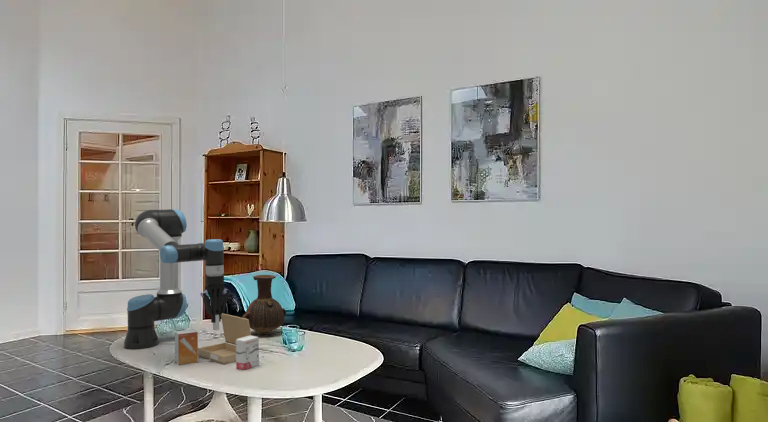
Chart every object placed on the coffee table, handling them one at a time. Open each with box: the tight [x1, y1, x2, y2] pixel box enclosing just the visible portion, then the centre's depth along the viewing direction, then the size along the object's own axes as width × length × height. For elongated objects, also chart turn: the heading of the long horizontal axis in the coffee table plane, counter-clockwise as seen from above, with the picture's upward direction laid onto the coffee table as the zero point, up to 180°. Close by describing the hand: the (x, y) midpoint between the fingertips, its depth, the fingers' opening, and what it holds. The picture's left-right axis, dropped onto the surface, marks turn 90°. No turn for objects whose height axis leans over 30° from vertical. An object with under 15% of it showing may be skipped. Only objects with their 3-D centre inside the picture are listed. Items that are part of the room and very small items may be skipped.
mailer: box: [198, 342, 236, 365], centre depth 240 cm, size 21×14×3 cm, turn 47°
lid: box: [221, 312, 252, 346], centre depth 244 cm, size 22×14×1 cm
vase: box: [241, 274, 287, 335], centre depth 283 cm, size 25×20×30 cm
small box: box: [174, 328, 199, 366], centre depth 232 cm, size 8×6×13 cm
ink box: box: [235, 335, 260, 371], centre depth 224 cm, size 9×5×12 cm, turn 148°
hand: (216, 329), depth 237 cm, fingers closed
